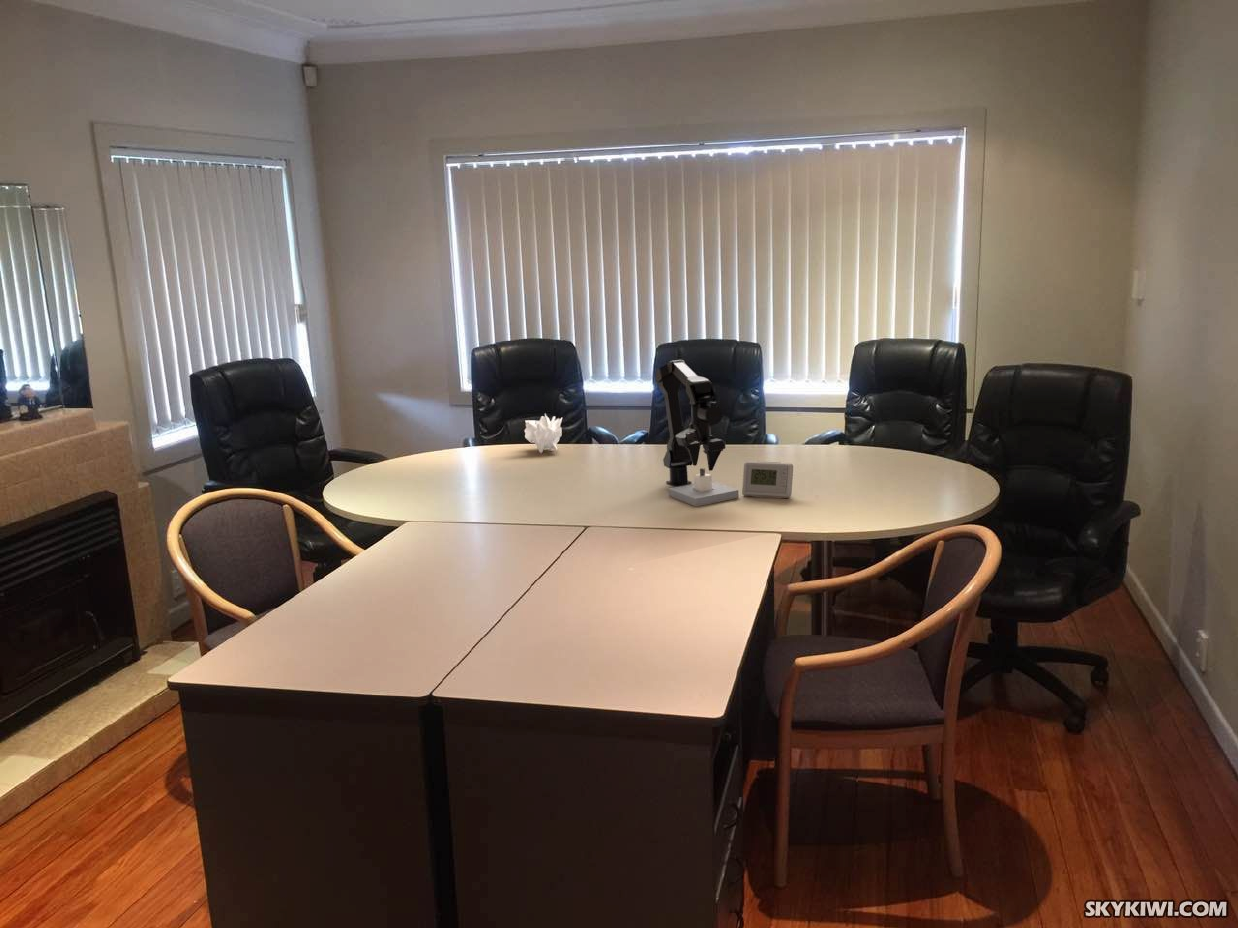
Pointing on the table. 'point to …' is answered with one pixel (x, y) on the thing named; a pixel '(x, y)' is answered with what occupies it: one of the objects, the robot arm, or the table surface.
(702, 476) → the plug
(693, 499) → the socket plate
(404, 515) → the table surface
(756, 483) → the digital clock
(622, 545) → the table surface
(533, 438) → the crumpled paper
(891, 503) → the table surface
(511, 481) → the table surface
